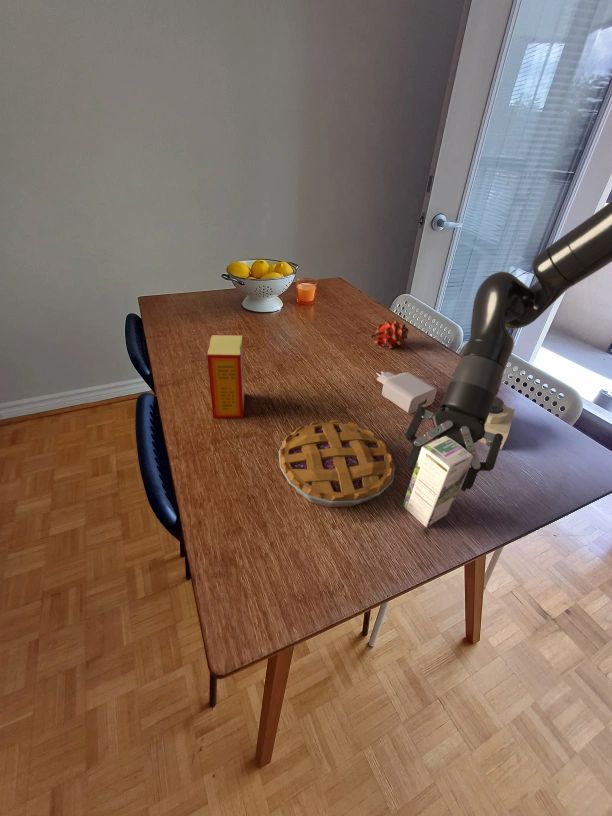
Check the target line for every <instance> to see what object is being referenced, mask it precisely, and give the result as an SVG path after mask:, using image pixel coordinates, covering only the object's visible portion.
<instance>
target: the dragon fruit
mask: <svg viewBox="0 0 612 816" xmlns="http://www.w3.org/2000/svg"><path fill="white" fill-rule="evenodd" d="M408 334H409V328H408V327H406V324H405V323H399V322H398V320H396V319H394V320H393V322H392V321H391V320H386V321H385V322H384V323H380V324H378V326H377V328H376V329H375V331H374V332H373V334H372V335H371V339H375V340H374V342H373V343H374V344H375V345H378V346H382V347H384V346H385V347H387V346H388V349H389V350H391V349H393V348H395V347H398V346H402V345H403V344H405V343H406V342H407V341H405V340H406V339H408Z"/></svg>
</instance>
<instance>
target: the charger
mask: <svg viewBox="0 0 612 816" xmlns="http://www.w3.org/2000/svg"><path fill="white" fill-rule="evenodd" d="M380 373H381V374H380ZM380 373H378V372H376V373H375V375H377V376H378V377H377V378H376V381H377V382H379V383H380V384H382V390H381V396H383V398H385V399H387V400H388V401H390V403H392V404H394V405H396V406H397V407H398V408H399V409H401V410H403V411H404V412H406V413H407V414H408V415H409V414H413V413H416V411H417V409H418V407H420V406H422V407H424V408H427V407H428V406H431V405H432V404H433V403H434V401H435V398H436V396H437V392H438V389H437V388H436V387H434V386H433V385H431V384H430V383H428V382H426V381H424V380H423V379H421V378H419V377H418V376H416V375H414V373H413V374H412V373H411V372H401V373H398V374H395V373H393V372H391V371H386V372H385V371H383V370H381V371H380Z"/></svg>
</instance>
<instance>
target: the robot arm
mask: <svg viewBox="0 0 612 816" xmlns="http://www.w3.org/2000/svg"><path fill="white" fill-rule="evenodd" d="M611 263H612V200H611V201H610V202H609V203H607V204H606V205H604V206H603V207H602V208H601V209H600V210H597V212H595V213H594V214H592V215H591V216H590V217H588V218H586V219H585V220H584V221H583V222H581V223H580V224H578V225H576V226H575V227H574V228H573V229H571V230H570V231H568V232H567V233H566V234H564V235H562V236H561V237H560V238H558V239H557V240H556V241H554V242H553V243H551V244H550V245H549V246H547V247H546V248H545V249H543V250H542V251H541V252H540V253H538V254H537V255H536V256H535V257H534V258H533V259H532V263H531V267H532V272H533V274H534V276H535V279H536V280H537V281H536V282H534V284H533V285H531V286H530V287H529V286H528V285H527V284H526V283H524V282H523V281H522V280H520V279H519V278H518V277H517V276H515V275H514V274H512V273H511V272H508V271H497V272H494V273H492V274H490V275H488V277H486V279H484V280H483V282H482V283H481V284H480V286H479V287H478V289H477V291H476V293H475V296H474V300H473V306H472V313H471V323H470V333H469V339H468V341H467V343H466V346H465V348H464V351H463V353H462V355H461V358H460V360H459V361H458V364H457V365H456V367H455V369H454V372H453V373H452V375H451V376H450V380H449V382H448V386H447V388H446V390H445V393H444V395H443V398H442V400H441V402H440V404H439V407H438V408H437V410H436V412H432V411H430V410H428V409H425V408H426V407H422V406H420V407H418V409H417V411H415V412H414V415H413V417H412V419H411V421H410V423H409V425H408V427H407V429H406V431H405V434H404V437H405V439H406V440H407V441H408V442H409V443H410V444H412V448H411V450H410V452H409V454H408V456H407V459H406V464H407V465H408V469H409V470H411V471H414V469H415V466H416V464H417V460H418V457H419V454H420V451H421V449H422V447H423V446H425V445H427V444H430V443H432V442H434V441H436V440H438V439H440V438H442V437H444V436H447V437H449V438H451V439H452V440H454V441H455V442H457V443H458V444H459V445H461V446H462V447H463V448H465V449H466V450H467V451H468V452H469V453H470V454H472V456H473V458H472V461H471V463H470V465H469V466H470V467H468V470H467V472H466V474H465V476H464V479H463V481H462V484H461V486H460V491H461V492H464V493H465V492H466V490H471V489H472V488H473V486H474V483H475V481H476V478H477V476H478V474H479V472H491V471H492V470H494V468H495V465H496V463H497V458H498V455H499V452H500V450H501V449H500V446H501V443H502V440H503V435H502V434H500V433H497V434H493V433H490V432H486V431H485V423H486V421H487V418H488V416H489V413H490V411H491V408H492V405H493V403H494V400H495V398H496V397H497V396H498V394H499V392H500V388H501V385H502V381H503V377H504V374H505V371H506V368H507V366H508V363H509V360H510V358H511V356H512V352H513V350H514V348H515V347H514V346H515V340H514V338H513V336H512V335H511V333H510V332H509V331H508V329H509V330H516V329H521V328H525V327H527V326H529V325H531V324H532V323H534V322H535V321H536V320H537V319H538V318H540V316H541V315H542V314H543V313H544V312H546V311H547V309H548V308H550V307H551V306H552V305H553V304H554V303H555V302H556V301H557V300H558V299H559V298H561V296H562V295H563V294H564V293H565V292H566V291H567V290H569V289H570V288H572V287H573V286H575V285H577V284H579V283H580V282H582V281H584V280H586V279H587V278H588V277H590V276H592V275H593V274H595V273H597V272H598V271H600V270H601V269H603V268H605V267H606V266H608V265H609V264H611ZM428 420H431V423H432V425H433V428H432V429H431V430H429V431H427V432H425V433H424V434H422V435H421V436H419V437H417V436H416V434H417V432H418V430H419V428H420V426H421V424H422V423H426V422H428ZM482 438H485V439H486V444H485V445H486V446H488V447H489V449H488V453H487V456H486V459H485V461H480V459H479V457H478V453H477V449H476V446H475V444H476V443H477V442H479V440H480V439H482Z"/></svg>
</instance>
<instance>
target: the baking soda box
mask: <svg viewBox="0 0 612 816" xmlns="http://www.w3.org/2000/svg"><path fill="white" fill-rule="evenodd" d="M243 340H244V339H243V334H211V337H210V341H209V345H208V350H207V354H206V359H207V369H208V378H209V379H208V381H209V388H210V399H211V408H212V409H211V410H212V418H213V419H243V418H244V407H245V371H244V370H245V369H244V368H245V367H244V344H243V342H244V341H243Z"/></svg>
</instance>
